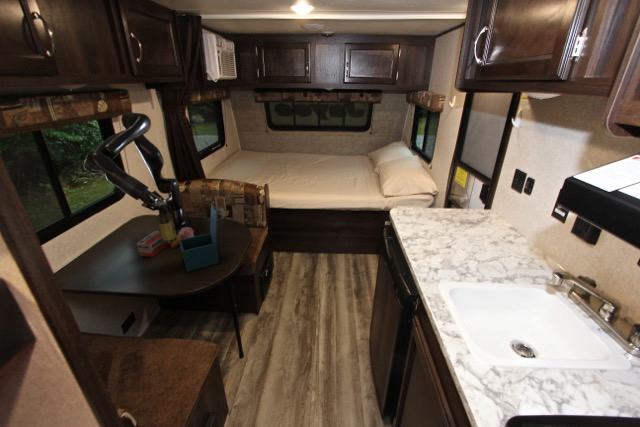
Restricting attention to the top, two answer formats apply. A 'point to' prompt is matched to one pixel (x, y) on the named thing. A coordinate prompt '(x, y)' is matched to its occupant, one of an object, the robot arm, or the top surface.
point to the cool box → (199, 251)
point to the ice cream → (183, 235)
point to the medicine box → (151, 244)
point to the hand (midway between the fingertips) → (168, 210)
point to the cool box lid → (215, 221)
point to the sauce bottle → (166, 225)
